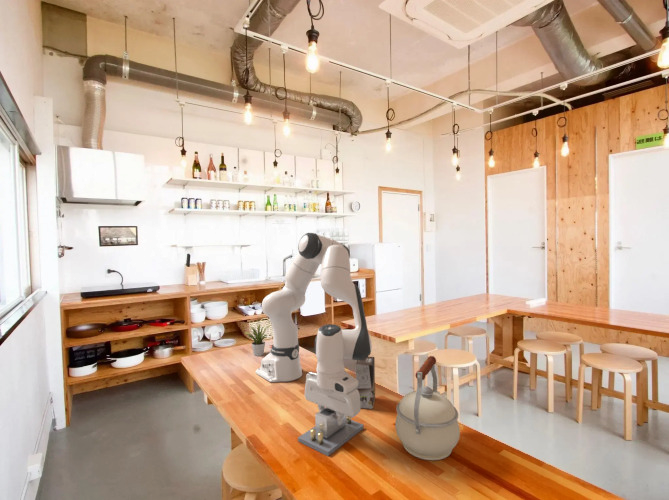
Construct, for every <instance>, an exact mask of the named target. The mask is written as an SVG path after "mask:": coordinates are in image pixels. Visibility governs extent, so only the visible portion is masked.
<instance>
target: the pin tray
mask: <svg viewBox="0 0 669 500" xmlns="http://www.w3.org/2000/svg"><path fill="white" fill-rule="evenodd" d="M364 427H365V426H364V424H363V423H360V422H358V421H355V420H352V417H349V416H347V424H346V425H344V426H343V427H342V428H340V429H339V430H337V431H336V432H335V433H333V434H332V435H331V436H329V437H328V438H325V437H323V432H318V434H317V433H316V425H315V426H313V427H312V428H310V429H309V430H307V431H306V432H304V433H303V434H301V435H300V436H298V437H297V441H298V443H301V444H303V445H305V446H307V447H309V448H311V449H313V450H315V451H317V452H318V453H321V454H322V455H325V456H327V457H329V456H330V455H332V454H333V453H335V452H336V451H337V450H339V448H341V447H342V446H343V445H344V444H346V443H347V442H348V441H350V440H351V439H352V438H353V437H354V436H356V435H357V434H359V432H361V431H362V430H363V429H364Z"/></svg>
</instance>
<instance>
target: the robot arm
mask: <svg viewBox="0 0 669 500" xmlns="http://www.w3.org/2000/svg"><path fill="white" fill-rule="evenodd" d="M297 246H298V247H297V250H298V252H297V254H296V255H295V256H294V258H293V260H292V261H291V263H290V266H289V267H288V269H287V270H286V272H285V275H284V276H285V284H284V286H283V287H282V288H281V289H279V290H277V291H273V292H270V293H269V294H268V295H266V296H265V297H264V298H263V300H262V302H261V309H262V312H263V314H264V315H265V316H267V317H268V319H269V321H270V325H271V328H272V341H273V342H272V344H271V345H269V348H268V349H271V350H270V352H269V353H268V354H266V356H264V357H263V358H262V359H261V361H260V367H259V368H257V369H256V370H255V374H256V375H258V376H259V377H262V378H263V379H265V380H266V381H268V382H270V383H278V382H292V381H296V380H298V379H300V378H302V377H303V372H302V371H303V367H302V366H301V358H300V343H299V335H298V334H299V333H298V331H299V330H298V325H297V324H296V323H295V322H294V320H293V317H292V316H293V315H292V313H293V312H296V311H298V310H299V309H300V308H301V307H302V306H304V304H305V302H306V293H307V289H308V286H309V285H310V283H311V281H312V280H313V277H314V276H315V274H316V272H317V271H318V268H319V267H320V265H321V268H320V286H321V288H322V289H323V291H324V292H325V293H326V294H328V295H329V296H330V297H333V298H334V299H335V298H336V299H338V300H341V301H342V302H345V303H347V304H348V305H349V306H350V307H351V308H352V309H351V310H352V315H353V318H354V326H355V328H353V329H342V328H341V326H339V325H337V324H334V323H333V324H331V323H330V324H329V323H328V324H323V325H321V326H320V327H319V328H318V329H317V334H316V336H315V338H314V354H315V356H316V357H315V358H316V360H317V365H316V372H313V371H309V372H307V373H306V376H305V386H304V398H305V400H306V401H309V402H311V403H314V404H316V405H317V408H318V410H319V411H318V412H320V411H321V410H323V409H324V408H329V409H331V410H334V411H336V412H338V415H339V417H337V418H336V419H335V424H337V425H341V424H342V418H343V416H344V415H347V416H349V417H351V418H354V417H356V416H358V415H359V413H360V412H361V408H360V395H359V391H358V390H357V387H358V380H357V379H356V377H354V376H352V375H351V374H349V373H348V372H347V371H346V370H345V364H344V360H353V361H357V360H361V361H363V360H364V359H366V358H367V357H370V355H371V354H372V353H371V352H372V350H373V349H372V348H373V347H372V346H373V344H372V343H373V341H372V338H371V336H370V333H369V330H368V325H367V318H366V314H365V313H366V312H365V309H364V303H363V299H362V293H361V291H360V288H359V286H358V285H356V284H354V282H353V280H352V276H351V262H350V261H351V260H350V257H351V254H350V249H349V248H348V246H347V245H345V244H343V243H342V242H338V241H337V240H335V239H332V238H330V237H326V236H323V235H320V234H319V235H318V233H314V232H306V233H305V234H303V235H302V236H301V238H300V239H299V242H298V245H297Z"/></svg>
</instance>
